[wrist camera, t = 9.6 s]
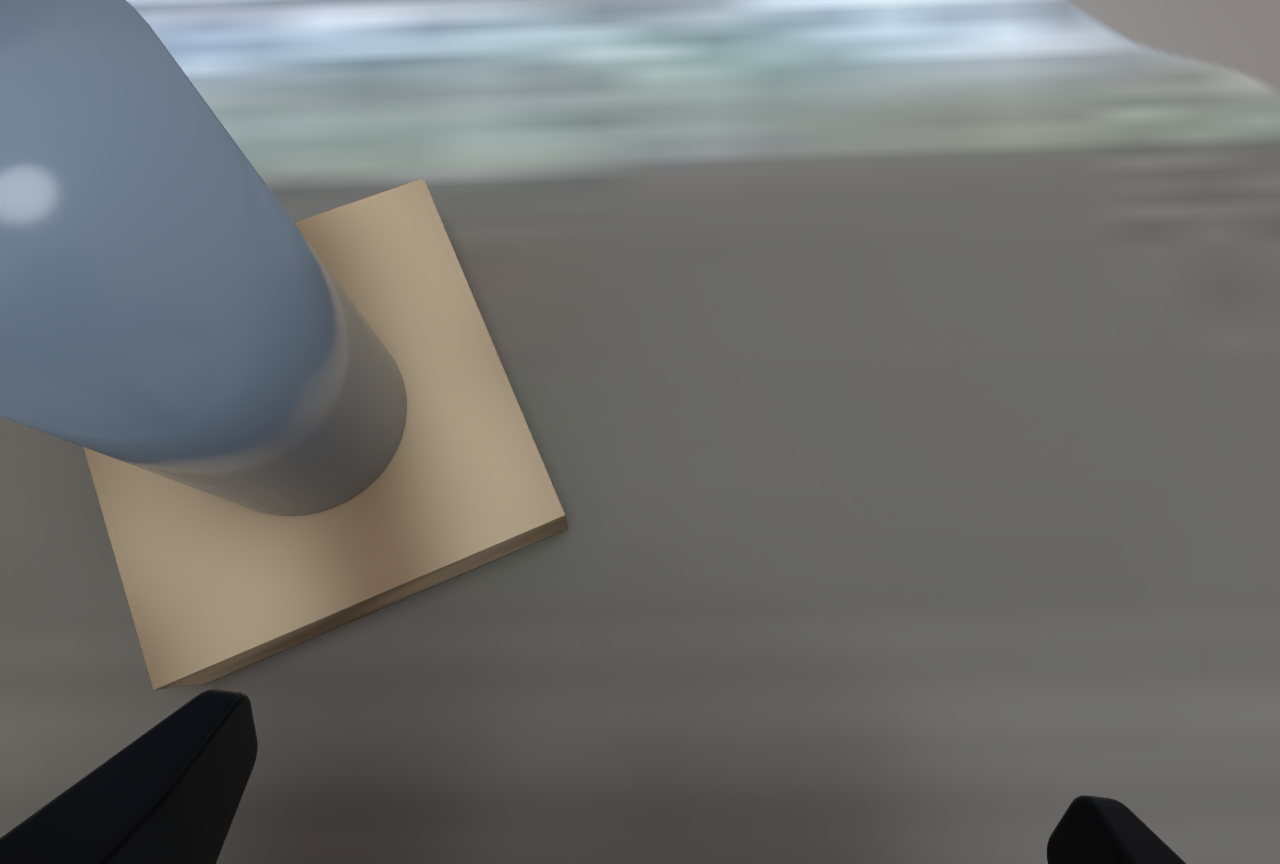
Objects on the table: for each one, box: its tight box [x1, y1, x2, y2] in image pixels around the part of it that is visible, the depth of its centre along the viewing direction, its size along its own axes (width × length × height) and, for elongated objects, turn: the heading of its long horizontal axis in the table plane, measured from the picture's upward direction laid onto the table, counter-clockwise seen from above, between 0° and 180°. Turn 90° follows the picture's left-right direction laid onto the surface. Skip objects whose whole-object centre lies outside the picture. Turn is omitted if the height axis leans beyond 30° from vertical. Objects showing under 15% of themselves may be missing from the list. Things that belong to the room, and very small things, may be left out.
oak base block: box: [84, 178, 568, 690], centre depth 21 cm, size 10×10×2 cm
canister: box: [0, 0, 407, 516], centre depth 14 cm, size 5×5×11 cm
